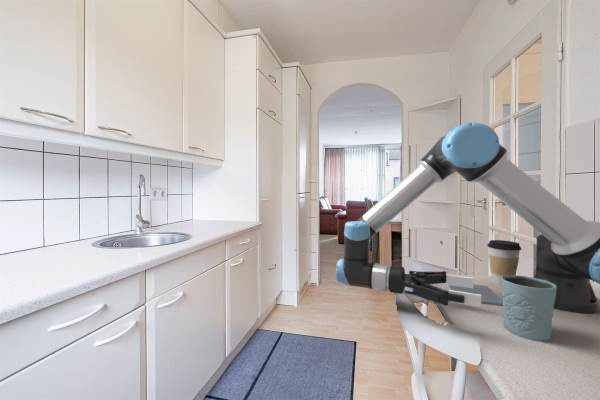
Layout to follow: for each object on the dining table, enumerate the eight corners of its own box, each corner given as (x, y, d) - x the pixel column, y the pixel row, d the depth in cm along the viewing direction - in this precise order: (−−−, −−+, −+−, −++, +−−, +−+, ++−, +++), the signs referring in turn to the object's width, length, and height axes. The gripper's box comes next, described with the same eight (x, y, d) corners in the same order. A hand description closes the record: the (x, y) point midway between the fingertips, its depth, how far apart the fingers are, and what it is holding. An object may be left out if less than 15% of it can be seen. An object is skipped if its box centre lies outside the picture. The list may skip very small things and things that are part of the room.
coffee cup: (527, 286, 94) (528, 244, 94) (506, 289, 92) (507, 245, 91) (499, 278, 104) (500, 239, 103) (479, 280, 101) (480, 240, 100)
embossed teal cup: (512, 339, 60) (513, 286, 60) (491, 318, 70) (493, 272, 70) (566, 345, 58) (569, 290, 58) (537, 323, 68) (539, 276, 67)
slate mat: (486, 287, 93) (486, 285, 93) (505, 306, 78) (505, 303, 78) (447, 283, 97) (447, 281, 97) (458, 300, 82) (458, 298, 82)
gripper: (394, 278, 89) (470, 290, 80) (381, 307, 67) (484, 327, 57) (395, 256, 89) (471, 264, 79) (382, 277, 67) (485, 293, 57)
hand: (476, 291), depth 68 cm, fingers open, 13 cm apart
